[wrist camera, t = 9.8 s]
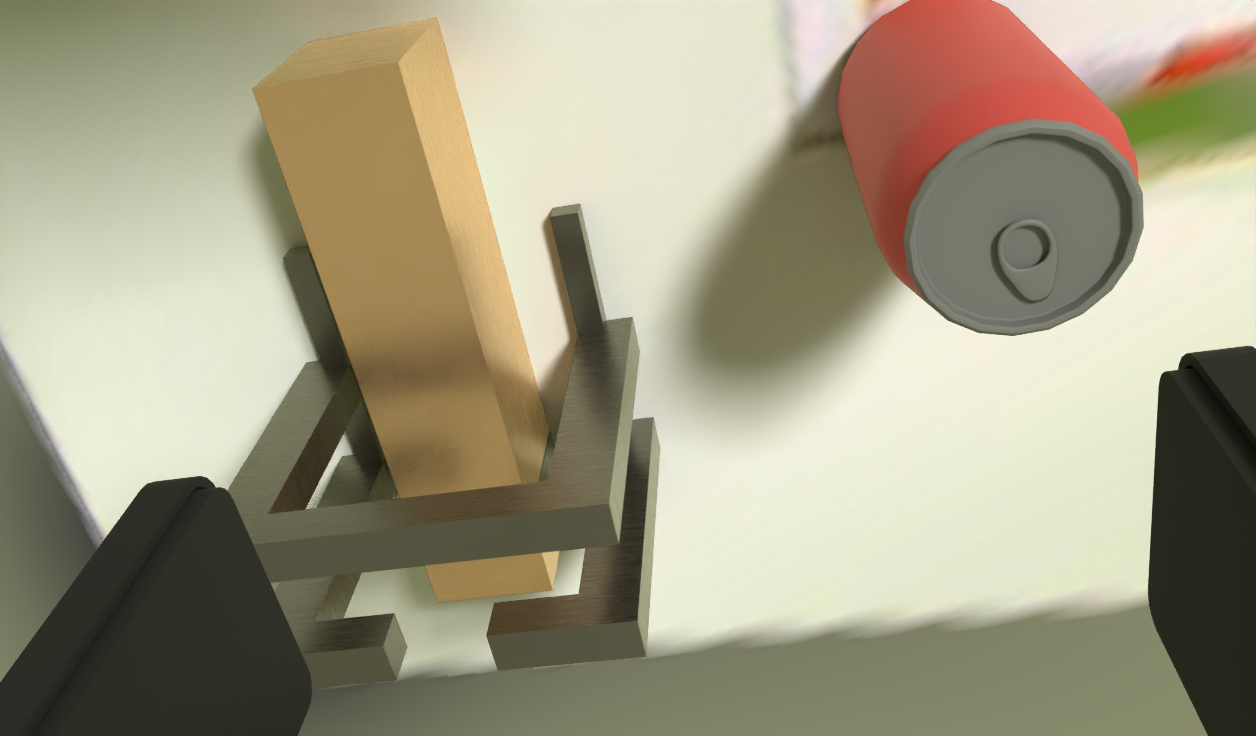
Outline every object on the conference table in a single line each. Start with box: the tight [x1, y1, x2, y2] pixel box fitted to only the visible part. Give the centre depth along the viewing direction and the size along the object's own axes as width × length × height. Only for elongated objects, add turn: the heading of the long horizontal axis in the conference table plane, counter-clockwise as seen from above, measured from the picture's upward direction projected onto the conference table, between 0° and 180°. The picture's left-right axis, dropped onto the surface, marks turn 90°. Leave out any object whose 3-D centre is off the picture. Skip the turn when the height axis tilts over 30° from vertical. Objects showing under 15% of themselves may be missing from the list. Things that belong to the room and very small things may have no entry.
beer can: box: [837, 0, 1144, 336], centre depth 32 cm, size 7×7×12 cm
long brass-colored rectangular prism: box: [252, 18, 560, 603], centre depth 40 cm, size 20×4×6 cm, turn 11°
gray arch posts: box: [227, 204, 660, 688], centre depth 38 cm, size 11×13×12 cm
